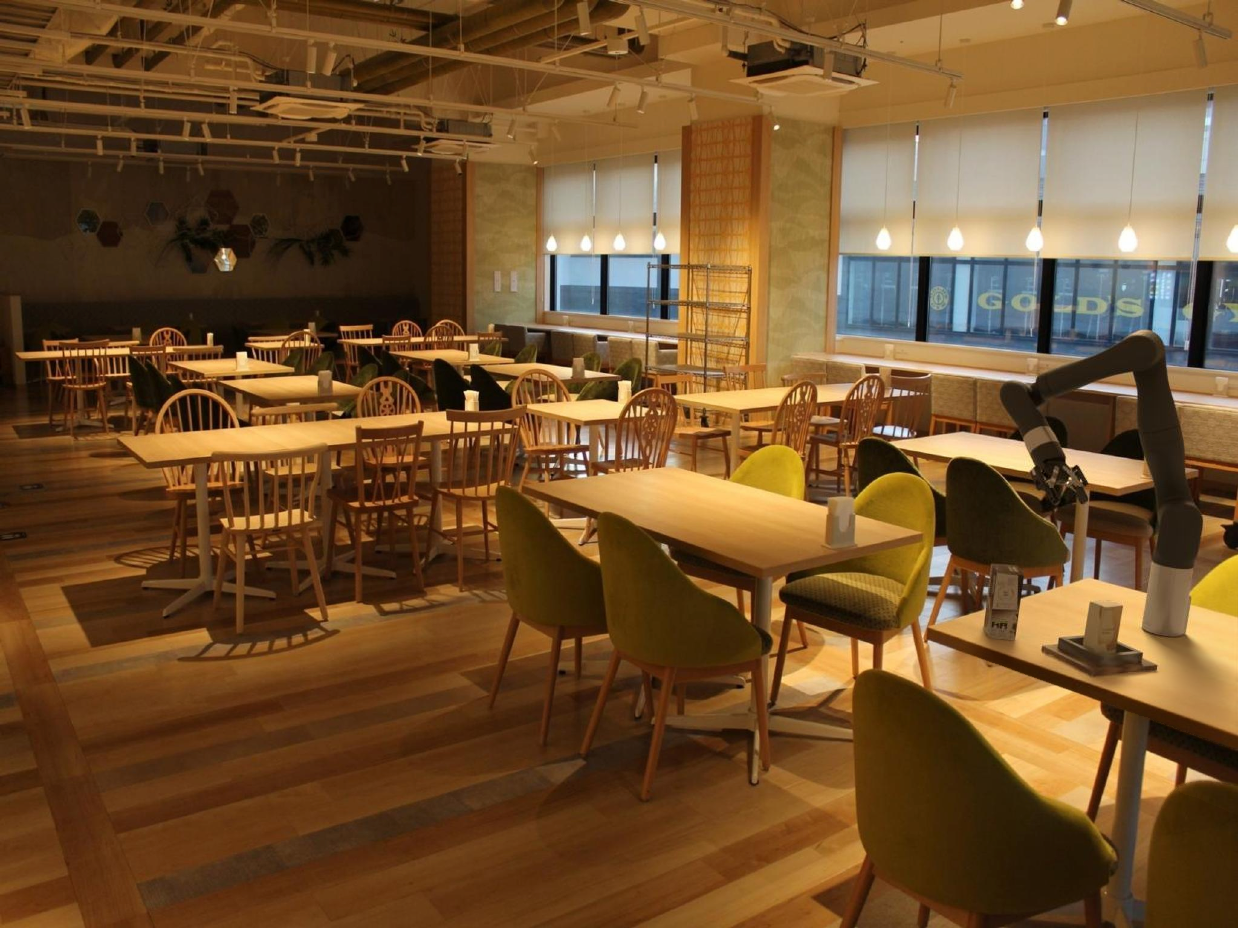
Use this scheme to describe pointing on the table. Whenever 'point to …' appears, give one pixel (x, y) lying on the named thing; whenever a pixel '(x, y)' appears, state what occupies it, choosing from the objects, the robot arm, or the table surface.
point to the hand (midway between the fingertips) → (1071, 503)
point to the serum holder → (1099, 657)
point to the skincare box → (1102, 626)
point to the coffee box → (1003, 601)
